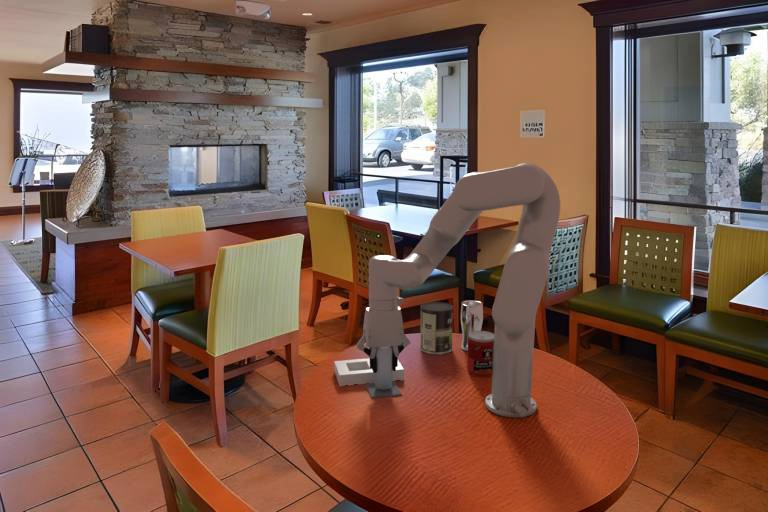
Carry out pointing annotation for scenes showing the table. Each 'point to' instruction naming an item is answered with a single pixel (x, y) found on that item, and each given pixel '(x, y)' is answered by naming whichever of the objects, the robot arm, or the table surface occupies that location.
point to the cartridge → (383, 367)
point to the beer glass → (470, 319)
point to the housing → (360, 372)
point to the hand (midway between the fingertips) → (383, 369)
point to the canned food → (480, 353)
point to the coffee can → (436, 327)
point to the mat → (383, 391)
